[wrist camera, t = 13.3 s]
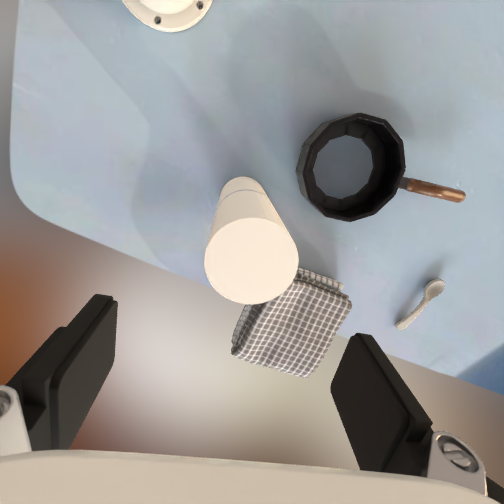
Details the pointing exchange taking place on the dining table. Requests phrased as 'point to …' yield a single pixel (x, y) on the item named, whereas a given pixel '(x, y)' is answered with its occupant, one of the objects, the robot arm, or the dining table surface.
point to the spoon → (422, 302)
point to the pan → (381, 179)
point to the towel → (292, 325)
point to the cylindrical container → (249, 246)
